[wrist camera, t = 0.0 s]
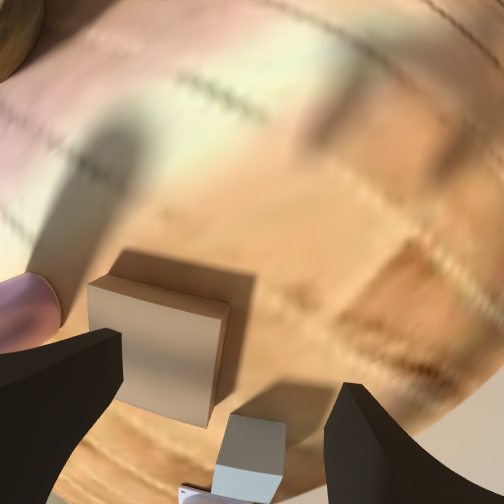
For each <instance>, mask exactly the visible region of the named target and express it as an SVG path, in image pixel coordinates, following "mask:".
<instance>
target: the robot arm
mask: <svg viewBox="0 0 504 504" xmlns="http://www.w3.org/2000/svg"><path fill="white" fill-rule="evenodd" d="M123 381H124V376H123V358H122V333H121V332H118V331H115V330H112V329H109V328H102V329H98V330H94V331H91V332H87V333H84V334H81V335H78V336H74V337H71V338H68V339H65V340H61V341H58V342H55V343H51V344H47V345H43V346H39V347H35V348H31V349H27V350H22V351H17V352H10V353H3V354H0V504H46V502H47V499H48V497H49V495H50V492H51V490H52V488H53V486H54V484H55V482H56V480H57V478H58V476H59V475H60V473H61V471H62V469H63V467H64V466H65V464H66V462H67V460H68V459H69V457H70V455H71V454H72V452H73V451H74V449H75V448H76V446H77V445H78V444H79V442H80V441H81V440H82V439H83V437H84V436H85V435H86V434H87V432H88V431H89V430H90V429H91V427H92V426H93V425H94V424H95V422H96V421H97V420H98V419H99V417H100V416H101V415H102V414H103V412H104V411H105V410H106V409H107V407H108V406H109V405H110V403H111V402H112V400H113V399H114V397H115V395H116V394H117V392H118V390H119V388H120V387H121V385H122V383H123ZM324 462H325V472H326V481H327V490H328V501H329V504H504V496H501V495H499V494H496V493H494V492H492V491H489V490H487V489H485V488H482V487H480V486H478V485H476V484H474V483H472V482H470V481H469V480H467V479H465V478H464V477H462V476H460V475H459V474H457V473H455V472H454V471H452V470H450V469H449V468H448V467H446V466H445V465H443V464H442V463H441V462H439V461H438V460H437V459H435V458H434V457H433V456H432V455H430V454H429V453H428V452H427V451H425V450H424V449H423V448H422V447H421V446H420V445H419V444H418V443H417V442H415V441H414V440H413V439H412V438H411V437H410V436H409V435H408V434H407V433H406V432H405V431H404V430H403V429H402V428H401V427H400V426H399V425H398V424H397V423H396V421H395V420H394V419H393V418H392V417H391V416H390V415H389V414H388V413H387V412H386V410H385V409H384V408H383V407H382V406H381V405H380V404H379V402H378V401H377V400H376V399H375V398H374V397H373V396H372V395H371V393H370V392H369V391H368V390H367V389H366V388H365V387H364V386H363V385H362V384H356V383H347V382H344V383H343V385H342V388H341V390H340V393H339V395H338V397H337V400H336V402H335V404H334V407H333V409H332V411H331V414H330V416H329V418H328V420H327V422H326V425H325V427H324ZM179 504H253V502H251V501H245V500H239V499H234V498H229V497H224V496H219V495H215V494H211V493H210V492H206V491H202V490H198V489H194V488H191V487H187V486H183V485H181V486H179Z"/></svg>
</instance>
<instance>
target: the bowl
mask: <svg viewBox="0 0 504 504" xmlns="http://www.w3.org/2000/svg"><path fill="white" fill-rule="evenodd" d="M43 24H44V4H43V0H0V83H2V82H3V81H5V80H6V79H7V78H8V77H9V76H10V75H11V74H12V73H13V72H14V71H15V70H16V69H17V68H18V67H19V66H20V65H21V64H22V63H23V62H24V60H25V59H26V58H27V57H28V55H29V54H30V52H31V51H32V49H33V47H34V45H35V42H36V40H37V38H38V36H39V34H40V32H41V30H42V27H43Z"/></svg>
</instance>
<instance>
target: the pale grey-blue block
mask: <svg viewBox="0 0 504 504" xmlns="http://www.w3.org/2000/svg"><path fill="white" fill-rule="evenodd" d="M285 439H286V423H281V422H274V421H268V420H263V419H257V418H252V417H247V416H242V415H237V414H232V413H230V416H229V420H228V423H227V427H226V431H225V434H224V438H223V441H222V445H221V448H220V451H219V455H218V458H217V462H216V466H215V472H214V477H213V483H212V489H211V494H215V495H219V496H224V497H229V498H234V499H239V500H245V501H251V502H258V503H265V504H270V502H271V500H272V498H273V496H274V494H275V492H276V490H277V488H278V486H279V484H280V482H281V480H282V478H283V473H284V457H285Z"/></svg>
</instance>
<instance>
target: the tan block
mask: <svg viewBox="0 0 504 504" xmlns="http://www.w3.org/2000/svg"><path fill="white" fill-rule="evenodd" d="M87 298H88V320H89V332H91V331H94V330H98V329H102V328H109V329H112V330H115V331H118V332H121V333H122V358H123V376H124V381H123V383H122V385H121V387H120V388H119V390H118V392H117V394H116V395H115V397H114V399H116V400H119V401H121V402H124V403H127V404H129V405H132V406H135V407H137V408H140V409H143V410H146V411H149V412H152V413H155V414H158V415H161V416H164V417H167V418H170V419H173V420H177V421H180V422H183V423H187V424H190V425H194V426H198V427H202V428H205V429H207V426H208V423H209V420H210V418H211V415H212V412H213V409H214V406H215V399H216V392H217V386H218V379H219V372H220V365H221V359H222V352H223V345H224V339H225V332H226V326H227V319H228V313H229V307H230V303H227V302H222V301H218V300H213V299H208V298H204V297H200V296H195V295H191V294H186V293H182V292H178V291H174V290H170V289H165V288H161V287H157V286H153V285H149V284H145V283H141V282H137V281H134V280H130V279H126V278H122V277H118V276H115V275H111V274H106V275H104V276H102V277H100V278H98V279H96V280H94V281H92V282H90V283H88V284H87Z"/></svg>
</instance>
